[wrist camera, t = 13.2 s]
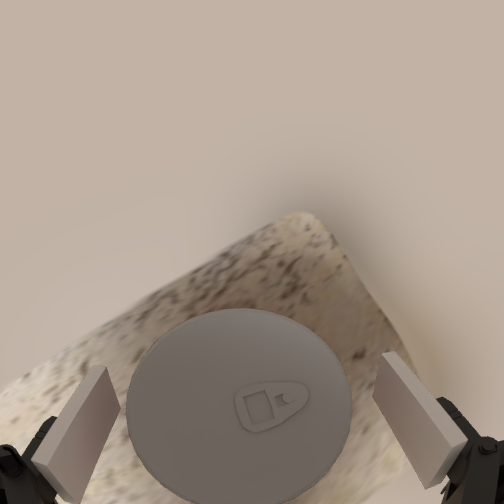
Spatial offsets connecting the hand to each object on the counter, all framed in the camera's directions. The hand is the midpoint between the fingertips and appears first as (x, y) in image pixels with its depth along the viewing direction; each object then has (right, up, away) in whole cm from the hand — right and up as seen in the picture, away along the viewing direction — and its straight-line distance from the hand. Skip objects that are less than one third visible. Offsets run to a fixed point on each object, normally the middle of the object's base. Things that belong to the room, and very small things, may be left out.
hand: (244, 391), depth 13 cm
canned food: (0, -5, +6) cm, 7 cm away
